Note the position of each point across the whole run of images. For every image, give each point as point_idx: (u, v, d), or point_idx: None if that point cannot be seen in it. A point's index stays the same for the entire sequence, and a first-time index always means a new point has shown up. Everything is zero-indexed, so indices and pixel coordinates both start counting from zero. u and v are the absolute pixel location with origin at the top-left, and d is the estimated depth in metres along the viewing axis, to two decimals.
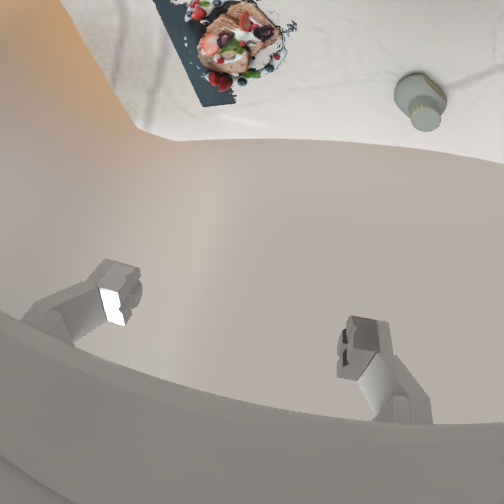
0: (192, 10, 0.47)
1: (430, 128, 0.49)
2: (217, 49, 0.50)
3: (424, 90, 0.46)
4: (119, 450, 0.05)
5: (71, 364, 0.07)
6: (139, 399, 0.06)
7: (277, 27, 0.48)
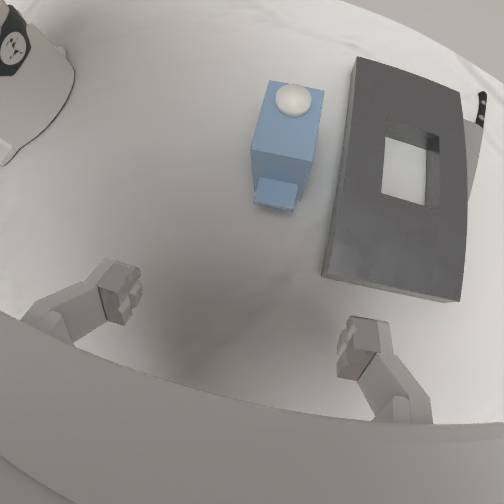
0: None
1: None
2: None
3: None
4: (119, 450, 0.05)
5: (71, 364, 0.07)
6: (139, 399, 0.06)
7: None
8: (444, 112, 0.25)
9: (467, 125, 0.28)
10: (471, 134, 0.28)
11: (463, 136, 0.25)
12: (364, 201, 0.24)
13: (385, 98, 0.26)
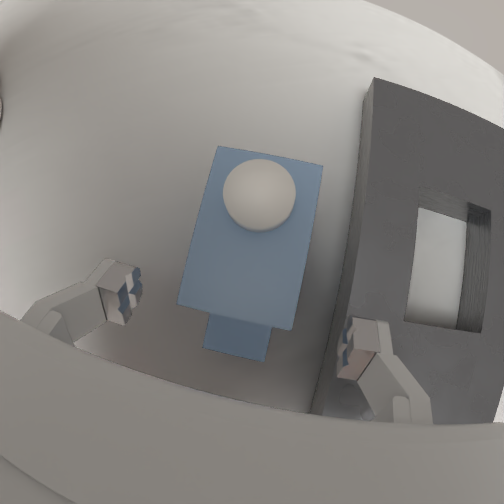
0: None
1: None
2: None
3: None
4: (119, 450, 0.05)
5: (71, 364, 0.07)
6: (139, 399, 0.06)
7: None
8: (497, 168, 0.16)
9: None
10: None
11: None
12: None
13: (418, 150, 0.17)
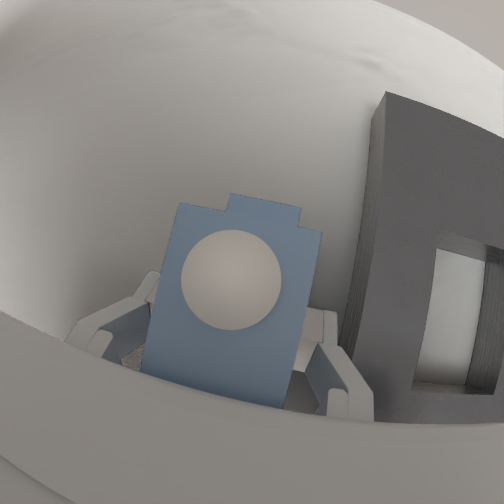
0: None
1: None
2: None
3: None
4: (119, 450, 0.05)
5: (71, 364, 0.07)
6: (139, 399, 0.06)
7: None
8: None
9: None
10: None
11: None
12: (378, 410, 0.12)
13: (438, 184, 0.14)
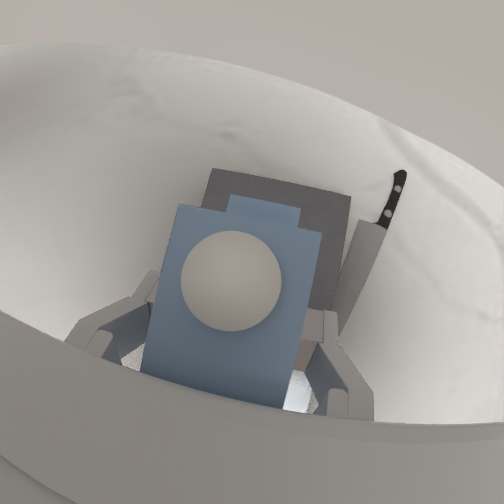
0: None
1: None
2: None
3: None
4: (119, 450, 0.05)
5: (71, 364, 0.07)
6: (139, 399, 0.06)
7: None
8: None
9: (362, 229, 0.28)
10: (366, 242, 0.28)
11: (337, 265, 0.25)
12: None
13: None
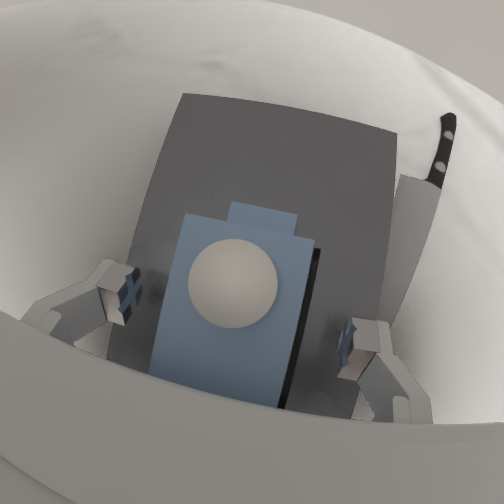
0: None
1: None
2: None
3: None
4: (119, 450, 0.05)
5: (71, 364, 0.07)
6: (139, 399, 0.06)
7: None
8: (350, 186, 0.15)
9: (408, 187, 0.18)
10: (414, 207, 0.17)
11: (385, 238, 0.14)
12: None
13: (212, 178, 0.15)
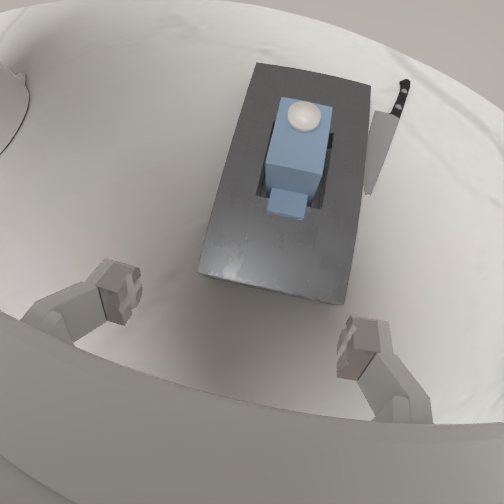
0: None
1: None
2: None
3: None
4: (119, 450, 0.05)
5: (71, 364, 0.07)
6: (139, 399, 0.06)
7: None
8: (346, 107, 0.28)
9: (379, 116, 0.31)
10: (383, 126, 0.30)
11: (366, 130, 0.27)
12: (237, 204, 0.27)
13: (277, 101, 0.28)
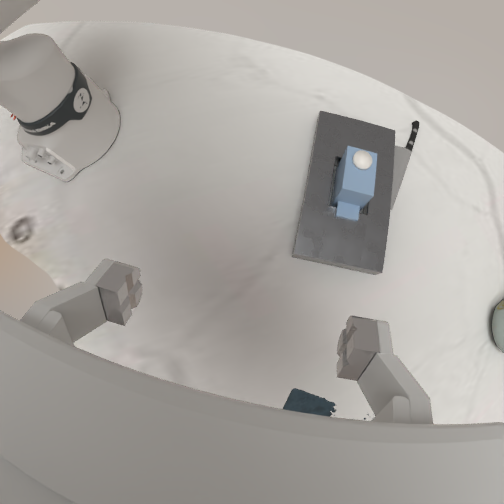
0: None
1: None
2: None
3: None
4: (119, 450, 0.05)
5: (71, 364, 0.07)
6: (139, 399, 0.06)
7: None
8: (380, 147, 0.43)
9: (398, 150, 0.46)
10: (400, 157, 0.45)
11: (392, 163, 0.42)
12: (316, 210, 0.41)
13: (336, 142, 0.43)
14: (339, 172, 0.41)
